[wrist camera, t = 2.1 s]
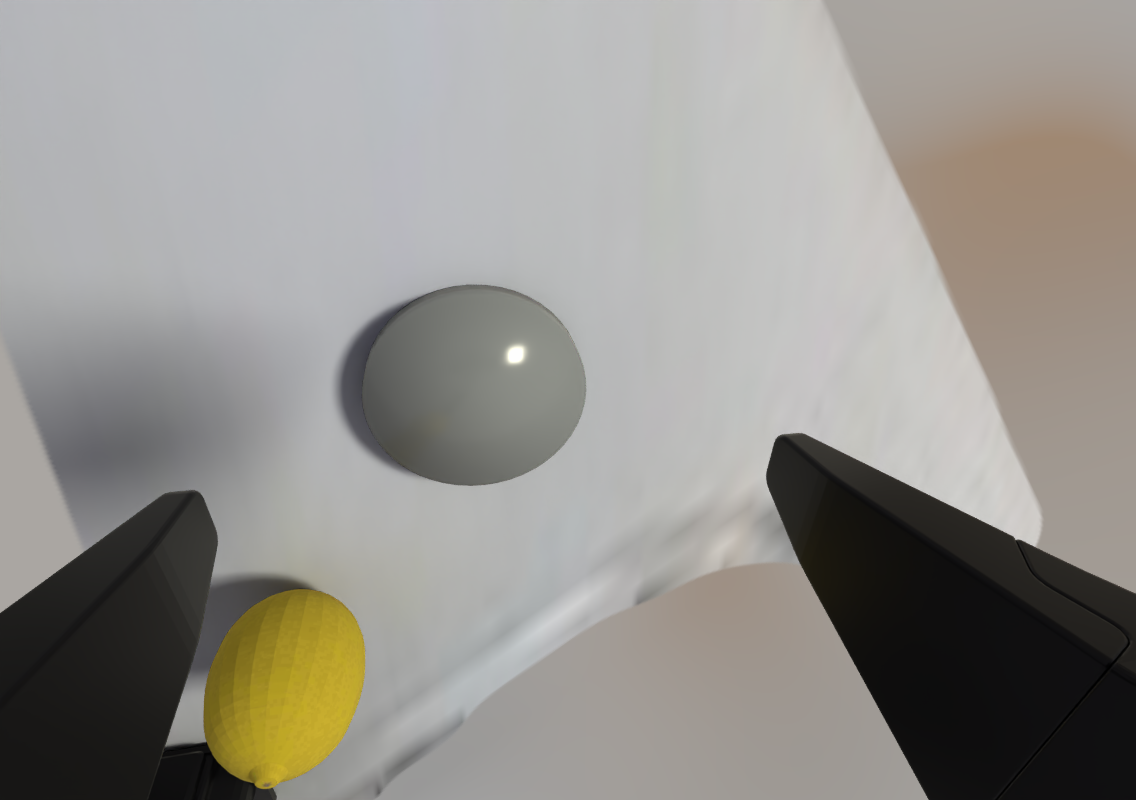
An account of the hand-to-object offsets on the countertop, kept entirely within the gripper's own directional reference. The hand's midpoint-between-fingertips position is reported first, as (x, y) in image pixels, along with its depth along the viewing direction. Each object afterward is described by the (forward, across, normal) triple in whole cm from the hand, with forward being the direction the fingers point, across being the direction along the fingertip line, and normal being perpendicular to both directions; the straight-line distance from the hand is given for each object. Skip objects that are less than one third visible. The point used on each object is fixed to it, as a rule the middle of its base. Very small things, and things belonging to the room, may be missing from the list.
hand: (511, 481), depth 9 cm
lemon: (+12, +8, +16) cm, 21 cm away
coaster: (+12, 0, +6) cm, 13 cm away
